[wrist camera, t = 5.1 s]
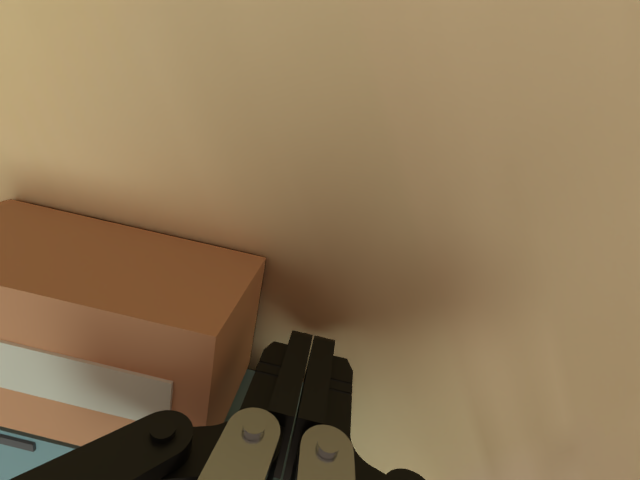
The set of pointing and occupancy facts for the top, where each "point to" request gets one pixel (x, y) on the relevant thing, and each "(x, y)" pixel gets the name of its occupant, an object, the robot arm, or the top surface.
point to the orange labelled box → (117, 324)
